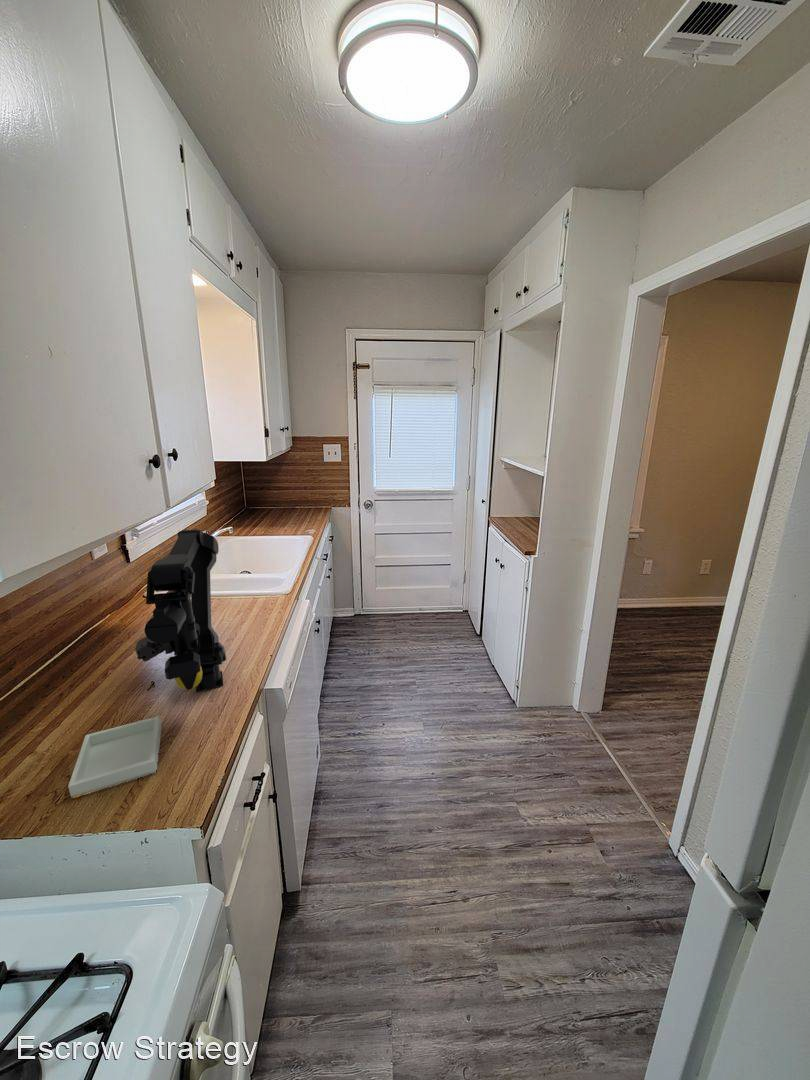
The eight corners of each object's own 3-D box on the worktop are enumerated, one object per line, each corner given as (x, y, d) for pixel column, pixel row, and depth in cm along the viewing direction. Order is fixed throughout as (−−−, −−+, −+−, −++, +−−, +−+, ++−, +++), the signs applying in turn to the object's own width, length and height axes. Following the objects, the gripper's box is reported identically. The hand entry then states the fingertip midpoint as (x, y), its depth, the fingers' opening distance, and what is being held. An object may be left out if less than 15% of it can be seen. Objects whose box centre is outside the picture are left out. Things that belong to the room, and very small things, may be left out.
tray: (88, 746, 89) (85, 735, 88) (161, 726, 95) (159, 715, 94) (71, 799, 77) (68, 786, 76) (156, 773, 83) (153, 761, 82)
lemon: (173, 689, 94) (167, 658, 92) (199, 678, 98) (194, 648, 96) (182, 700, 91) (176, 668, 88) (208, 689, 94) (203, 658, 92)
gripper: (139, 608, 94) (152, 668, 99) (127, 649, 78) (143, 719, 82) (194, 599, 98) (204, 656, 103) (194, 636, 82) (205, 702, 87)
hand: (189, 681), depth 94 cm, fingers closed on lemon, 5 cm apart
